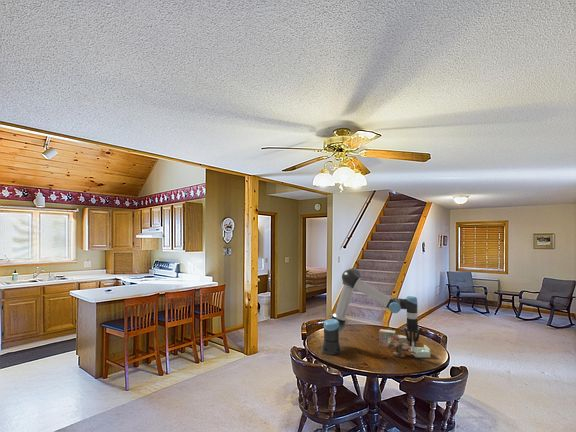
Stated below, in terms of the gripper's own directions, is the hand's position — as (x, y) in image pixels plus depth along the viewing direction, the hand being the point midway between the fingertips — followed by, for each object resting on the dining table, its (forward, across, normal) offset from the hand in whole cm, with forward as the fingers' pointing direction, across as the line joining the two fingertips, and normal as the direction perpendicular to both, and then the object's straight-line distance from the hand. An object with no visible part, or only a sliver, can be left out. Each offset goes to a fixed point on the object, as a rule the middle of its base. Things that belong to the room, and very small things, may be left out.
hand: (412, 350), depth 244 cm
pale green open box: (+5, +8, +7) cm, 12 cm away
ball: (+3, +10, +7) cm, 13 cm away
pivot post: (+5, -8, +7) cm, 12 cm away
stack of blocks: (+6, -7, +24) cm, 26 cm away
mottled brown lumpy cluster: (+3, -8, +4) cm, 9 cm away
